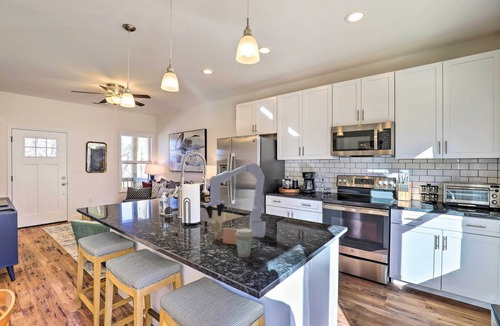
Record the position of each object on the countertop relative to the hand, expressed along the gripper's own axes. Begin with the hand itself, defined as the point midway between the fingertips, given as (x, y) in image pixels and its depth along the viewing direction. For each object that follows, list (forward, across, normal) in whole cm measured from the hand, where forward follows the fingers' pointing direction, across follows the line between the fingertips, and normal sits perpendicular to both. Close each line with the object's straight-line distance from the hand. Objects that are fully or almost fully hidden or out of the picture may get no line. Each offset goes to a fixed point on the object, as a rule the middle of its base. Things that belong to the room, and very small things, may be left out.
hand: (214, 217), depth 151 cm
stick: (+10, +6, +10) cm, 15 cm away
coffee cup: (+10, +15, +36) cm, 41 cm away
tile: (+10, +7, +20) cm, 23 cm away
